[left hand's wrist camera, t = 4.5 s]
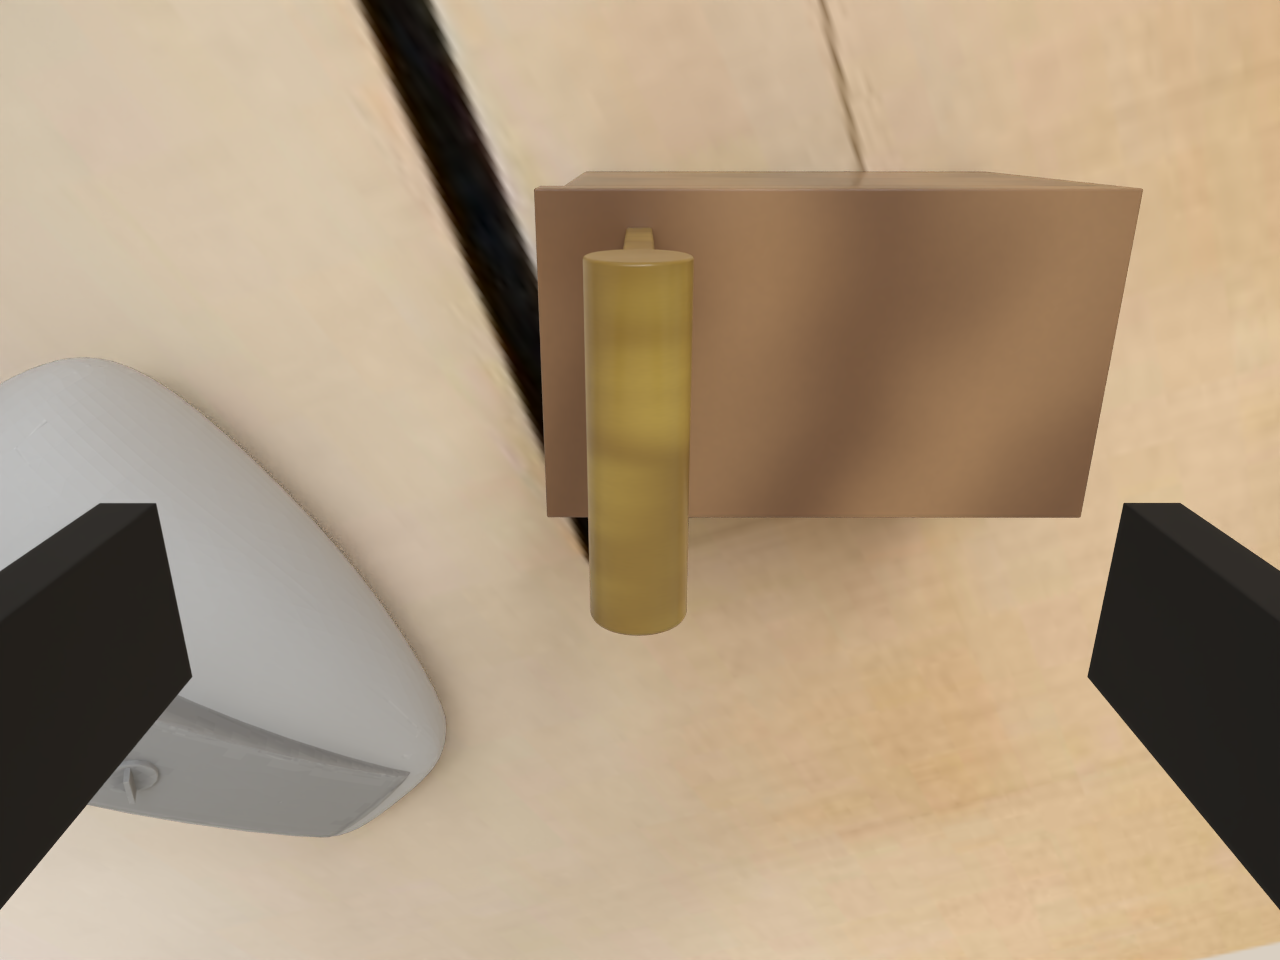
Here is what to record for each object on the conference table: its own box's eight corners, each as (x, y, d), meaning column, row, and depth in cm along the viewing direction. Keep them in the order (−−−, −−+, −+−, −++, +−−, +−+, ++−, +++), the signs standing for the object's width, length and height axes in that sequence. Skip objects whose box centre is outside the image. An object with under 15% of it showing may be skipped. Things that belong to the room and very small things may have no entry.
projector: (13, 794, 45) (-265, 1086, 31) (-128, 335, 36) (-591, 456, 23) (460, 794, 45) (380, 1086, 31) (420, 336, 36) (288, 457, 23)
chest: (589, 408, 38) (572, 501, 28) (584, 171, 34) (563, 185, 25) (955, 408, 38) (1061, 501, 28) (986, 171, 34) (1119, 185, 25)
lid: (551, 501, 28) (509, 670, 19) (539, 185, 25) (481, 214, 16) (1062, 502, 28) (1256, 671, 19) (1120, 186, 25) (1387, 214, 16)
